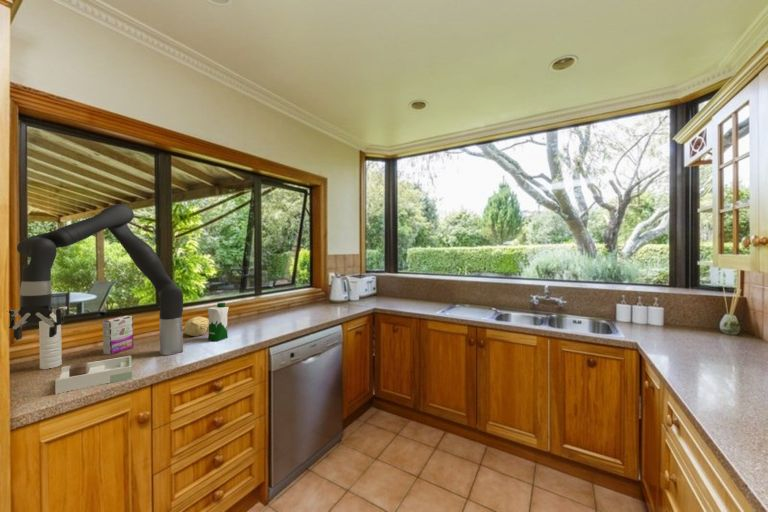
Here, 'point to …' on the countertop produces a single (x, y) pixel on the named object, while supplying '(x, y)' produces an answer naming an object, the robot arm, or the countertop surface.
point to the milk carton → (218, 322)
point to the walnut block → (78, 369)
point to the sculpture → (196, 326)
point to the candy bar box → (117, 334)
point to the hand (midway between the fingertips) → (35, 337)
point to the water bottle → (50, 345)
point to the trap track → (95, 374)
